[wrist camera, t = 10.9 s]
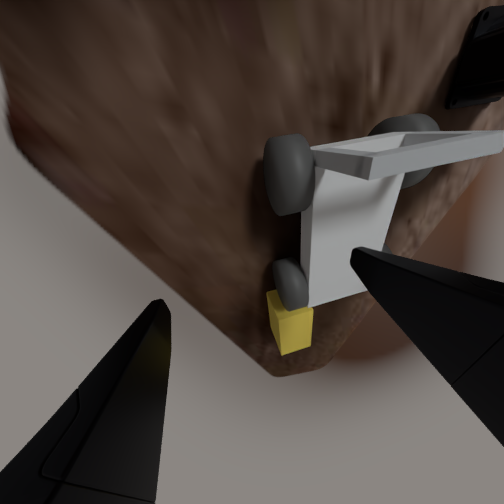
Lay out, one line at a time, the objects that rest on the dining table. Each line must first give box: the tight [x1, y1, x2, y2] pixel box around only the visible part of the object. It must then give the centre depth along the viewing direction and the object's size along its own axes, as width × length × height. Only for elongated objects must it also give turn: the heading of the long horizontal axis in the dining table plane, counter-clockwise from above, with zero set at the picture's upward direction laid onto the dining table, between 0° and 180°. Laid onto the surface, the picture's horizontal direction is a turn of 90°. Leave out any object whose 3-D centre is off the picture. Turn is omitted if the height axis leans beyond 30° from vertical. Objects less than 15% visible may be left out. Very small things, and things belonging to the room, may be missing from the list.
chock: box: [266, 289, 313, 355], centre depth 27 cm, size 4×8×5 cm, turn 8°
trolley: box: [263, 114, 504, 312], centre depth 18 cm, size 18×12×10 cm
